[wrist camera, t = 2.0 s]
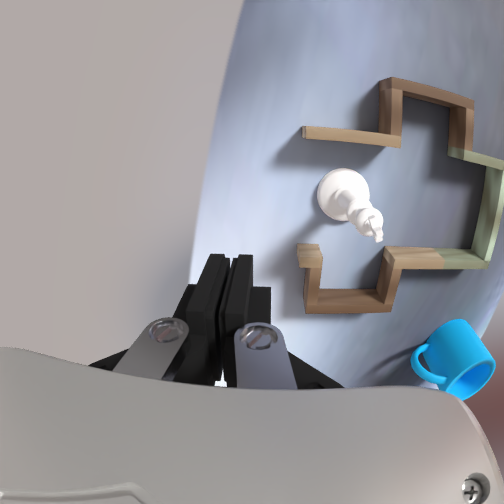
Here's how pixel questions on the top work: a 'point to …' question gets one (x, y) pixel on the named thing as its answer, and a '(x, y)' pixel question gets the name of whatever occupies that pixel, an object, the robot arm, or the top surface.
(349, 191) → the chess piece
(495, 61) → the top surface
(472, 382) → the mug
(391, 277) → the box
